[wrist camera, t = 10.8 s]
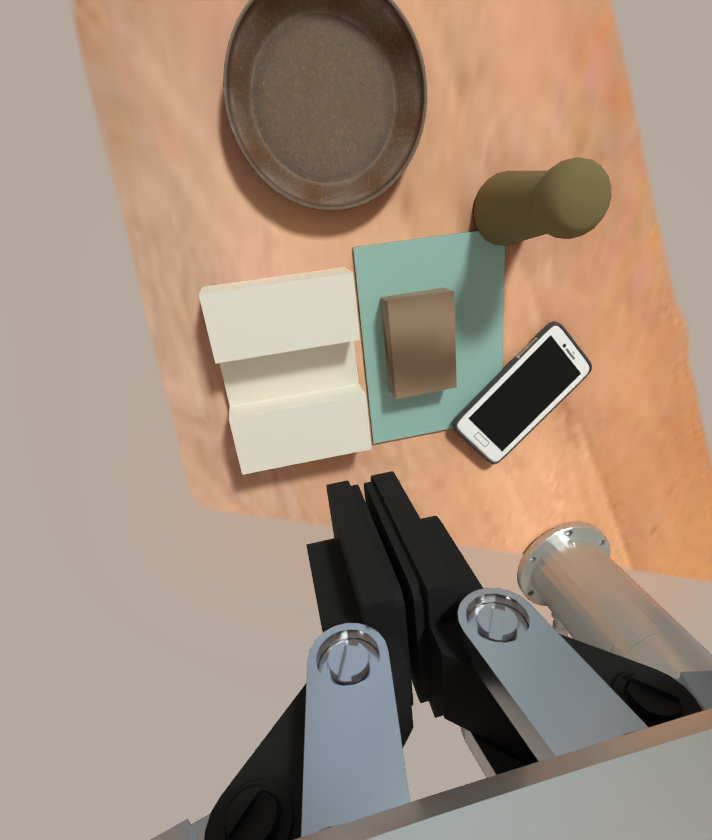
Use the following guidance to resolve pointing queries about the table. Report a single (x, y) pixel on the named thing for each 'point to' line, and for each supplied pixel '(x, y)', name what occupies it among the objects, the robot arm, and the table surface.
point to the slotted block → (289, 366)
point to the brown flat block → (420, 341)
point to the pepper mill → (543, 202)
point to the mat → (474, 323)
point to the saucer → (325, 97)
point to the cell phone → (523, 393)
